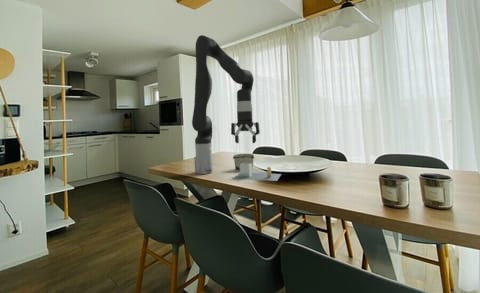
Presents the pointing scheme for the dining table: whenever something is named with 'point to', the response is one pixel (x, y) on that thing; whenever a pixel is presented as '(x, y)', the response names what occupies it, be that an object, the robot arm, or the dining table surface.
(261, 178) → the board
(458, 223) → the dining table surface
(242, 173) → the white block
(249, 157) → the food container
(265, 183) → the dining table surface
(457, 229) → the dining table surface
